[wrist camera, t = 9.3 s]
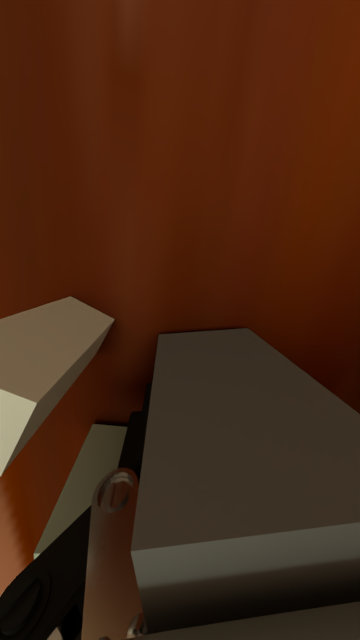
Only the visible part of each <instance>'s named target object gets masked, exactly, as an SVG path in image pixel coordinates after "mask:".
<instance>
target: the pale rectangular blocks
mask: <svg viewBox="0 0 360 640" xmlns="http://www.w3.org/2000/svg"><path fill="white" fill-rule="evenodd" d="M114 320H115V319H113V318H111V317H109V316H108V315H106V314H104V313H102V312H100V311H98V310H96V309H94V308H92V307H90V306H88V305H87V304H85V303H83V302H81V301H79V300H77V299H75V298H73V297H71V296H70V297H67V298H64V299H61V300H58V301H55V302H52V303H49V304H46V305H43V306H40V307H36V308H33V309H30V310H27V311H24V312H21V313H18V314H15V315H12V316H9V317H6V318H3V319H0V476H1V475H2V474H3V473H4V471H5V470H6V469H7V468H8V466H9V465H10V464H11V462H12V461H13V460H14V459H15V457H16V456H17V455H18V453H19V452H20V451H21V450H22V448H23V447H24V446H25V444H26V443H27V442H28V441H29V439H30V438H31V437H32V435H33V434H34V433H35V432H36V430H37V429H38V428H39V426H40V425H41V424H42V423H43V421H44V420H45V419H46V417H47V416H48V415H49V414H50V412H51V411H52V410H53V408H54V407H55V406H56V405H57V403H58V402H59V401H60V399H61V398H62V397H63V396H64V394H65V393H66V392H67V390H68V389H69V388H70V387H71V385H72V384H73V383H74V381H75V380H76V379H77V378H78V376H79V375H80V374H81V372H82V371H83V370H84V369H85V367H86V366H87V365H88V364H89V362H90V361H91V360H92V358H93V357H94V356H95V355H96V353H97V351H98V349H99V348H100V346H101V344H102V342H103V340H104V338H105V337H106V335H107V333H108V331H109V329H110V327H111V326H112V324H113V322H114Z"/></svg>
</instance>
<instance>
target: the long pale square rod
mask: <svg viewBox="0 0 360 640" xmlns="http://www.w3.org/2000/svg"><path fill="white" fill-rule="evenodd" d="M126 431H127V427H122V426H111V425H100V424H92V427H91V429H90V431H89V433H88V435H87V438H86V440H85V442H84V444H83V446H82V449H81V451H80V453H79V455H78V457H77V460H76V462H75V464H74V466H73V468H72V471H71V473H70V475H69V477H68V479H67V482H66V484H65V486H64V488H63V490H62V493H61V495H60V497H59V499H58V501H57V504H56V506H55V508H54V510H53V512H52V515H51V517H50V519H49V521H48V523H47V526H46V528H45V530H44V532H43V534H42V537H41V539H40V541H39V543H38V545H37V548H36V550H35V552H34V559H35V558H36V557H38V556H39V555H40V554H41V553H42V552H43V551H44V550H45V549H46V548H47V547H48V546H49V545H50V544H51V543H52V542H53V541H54V540H55V539H56V538H57V537H58V536H59V535H60V534H61V533H62V532H63V531H65V530H66V529H67V528H68V527H69V526H70V525H71V524H72V523H73V522H74V521H75V520H76V519H77V518H78V517H79V516H80V515H81V514H82V513H83V512H84V511H85V510H86V509H87V508H88V507H89V506H91V505H92V498H93V494H94V491H95V489H96V487H97V485H98V483H99V482H100V481H101V479H102V478H103V477H104V476H105V475H107V474H108V473H109V472H111V471H113V470H114V469H117V467H118V463H119V459H120V455H121V451H122V447H123V443H124V439H125V435H126Z"/></svg>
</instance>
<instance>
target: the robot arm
mask: <svg viewBox="0 0 360 640" xmlns="http://www.w3.org/2000/svg"><path fill="white" fill-rule="evenodd" d="M151 390H152V383H148V384H147V386H146V392H145V397H144V403H143V409H142V411H136V412H132V413H131V415H130V419H129V423H128V427H127V431H126V435H125V439H124V443H123V447H122V451H121V455H120V459H119V463H118V467H117V469H114V470H113V471H111V472H109V473H108V474H107V475H105V476H104V477H103V478H102V479H101V481H100V482H99V483H98V485H97V487H96V489H95V491H94V494H93V498H92V505H91V506H89V507H88V508H87V509H86V510H85V511H84V512H83V513H82V514H81V515H80V516H79V517H78V518H77V519H76V520H75V521H74V522H73V523H72V524H71V525H70V526H69V527H68V528H67V529H66V530H65V531H63V532H62V533H61V534H60V535H59V536H58V537H57V538H56V539H55V540H54V541H53V542H52V543H51V544H50V545H49V546H48V547H47V548H46V549H45V550H44V551H43V552H42V553H41V554H40V555H39V556H38V557H36V558H35V559H34V560H33V561H32V562H31V563H30V564H29V565H28V566H27V567H26V568H25V569H24V570H23V571H22V572H21V573H20V574H19V575H18V576H17V577H16V578H15V579H14V580H13V581H12V582H11V584H10V585H9V586H8V587H7V588H6V589H5V591H4V592H3V594H2V595H1V597H0V640H360V602H353V603H346V604H340V605H333V606H326V607H319V608H313V609H306V610H300V611H293V612H286V613H280V614H273V615H266V616H260V617H253V618H247V619H241V620H234V621H228V622H222V623H215V624H209V625H203V626H196V627H190V628H184V629H177V630H171V631H165V632H158V630H157V631H147V627H146V622H145V617H144V613H143V608H142V603H141V598H140V594H139V589H138V584H137V579H136V575H135V570H134V565H133V560H132V556H131V544H132V537H133V529H134V521H135V513H136V506H137V498H138V490H139V483H140V475H141V467H142V459H143V452H144V444H145V436H146V429H147V421H148V413H149V405H150V398H151Z"/></svg>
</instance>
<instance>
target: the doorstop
mask: <svg viewBox="0 0 360 640" xmlns="http://www.w3.org/2000/svg"><path fill="white" fill-rule="evenodd" d="M131 556H132V560H133V565H134V570H135V575H136V579H137V584H138V589H139V594H140V598H141V603H142V608H143V613H144V617H145V622H146V627H147V631H157V630H158V632H165V631H171V630H177V629H184V628H190V627H196V626H203V625H209V624H215V623H222V622H228V621H234V620H241V619H247V618H253V617H260V616H266V615H273V614H280V613H286V612H293V611H300V610H306V609H313V608H319V607H326V606H333V605H340V604H346V603H353V602H360V414H359V413H358V412H356V411H355V410H354V409H352V408H351V407H350V406H349V405H347V404H346V403H345V402H343V401H342V400H341V399H339V398H338V397H337V396H336V395H334V394H333V393H332V392H330V391H329V390H328V389H326V388H325V387H324V386H323V385H321V384H320V383H319V382H317V381H316V380H315V379H313V378H312V377H311V376H310V375H308V374H307V373H306V372H304V371H303V370H302V369H300V368H299V367H298V366H296V365H295V364H294V363H293V362H291V361H290V360H289V359H287V358H286V357H285V356H283V355H282V354H281V353H280V352H278V351H277V350H276V349H274V348H273V347H272V346H270V345H269V344H268V343H267V342H265V341H264V340H263V339H261V338H260V337H259V336H257V335H256V334H255V333H254V332H252V331H251V330H250V329H248V328H243V329H229V330H215V331H200V332H186V333H172V334H159V336H158V344H157V351H156V359H155V367H154V375H153V382H152V390H151V398H150V405H149V413H148V421H147V429H146V436H145V444H144V452H143V459H142V467H141V475H140V483H139V490H138V498H137V506H136V513H135V521H134V529H133V537H132V544H131Z"/></svg>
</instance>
